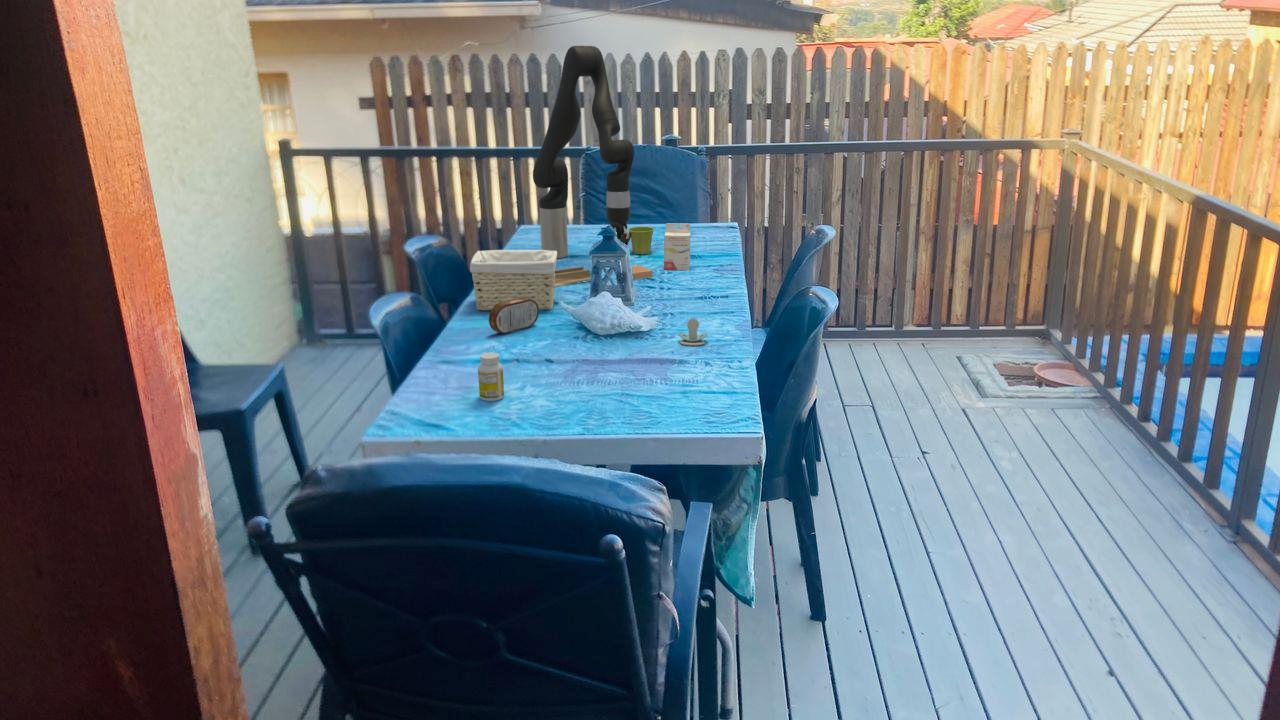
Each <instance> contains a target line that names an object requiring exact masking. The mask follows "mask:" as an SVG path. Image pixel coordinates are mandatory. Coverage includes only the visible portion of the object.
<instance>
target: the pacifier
mask: <svg viewBox="0 0 1280 720" xmlns="http://www.w3.org/2000/svg"><path fill="white" fill-rule="evenodd" d="M686 325H687V326H686V327H687V329H688V334H687V333H684V332H678V334H677V335H678V336H679V338H681V339H682V340H680V341H679V344H681V345H683V346H690V347H691V346H692V347H693V346H695V347H697V346H702V345H704V344H706V341H704V340H703V339H705V338H706V337H707V336H708V332H703V333H700V334H698V330H699V327H700V323H699V320H698V319H696V318H694V317H691V318H689V319H688V321H687V323H686Z"/></svg>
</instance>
